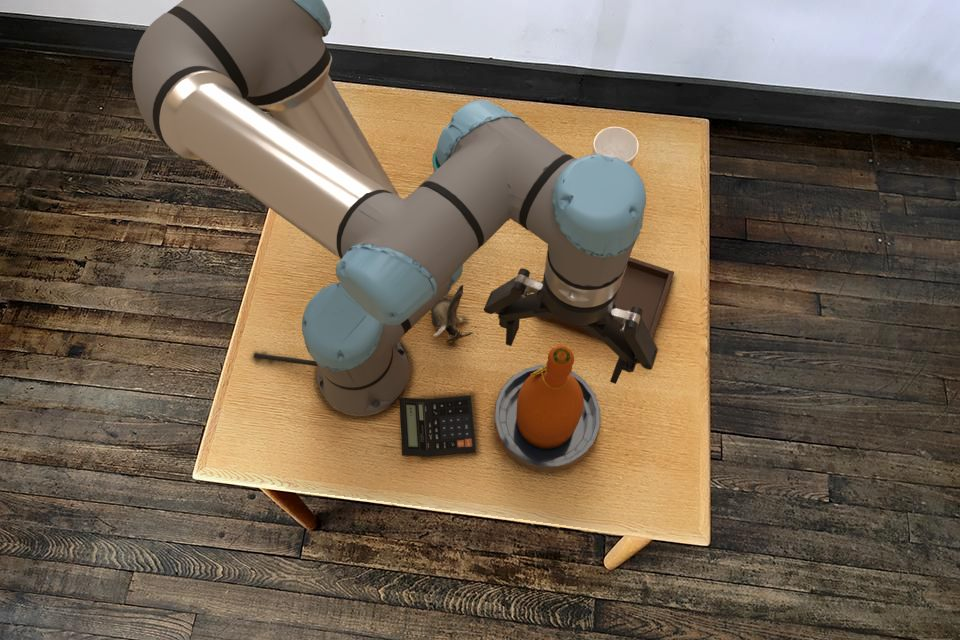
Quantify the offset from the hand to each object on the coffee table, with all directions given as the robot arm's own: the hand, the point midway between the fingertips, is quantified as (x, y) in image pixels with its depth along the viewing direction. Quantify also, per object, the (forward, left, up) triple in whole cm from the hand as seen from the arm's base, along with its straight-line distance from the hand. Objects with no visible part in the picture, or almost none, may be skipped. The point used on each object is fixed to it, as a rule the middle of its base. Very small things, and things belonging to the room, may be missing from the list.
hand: (563, 354), depth 93 cm
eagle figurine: (-21, +11, -32) cm, 40 cm away
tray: (+2, +25, -31) cm, 40 cm away
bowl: (0, 0, -31) cm, 31 cm away
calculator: (-16, -7, -32) cm, 36 cm away
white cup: (-5, +49, -32) cm, 59 cm away
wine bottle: (0, 0, -31) cm, 31 cm away
